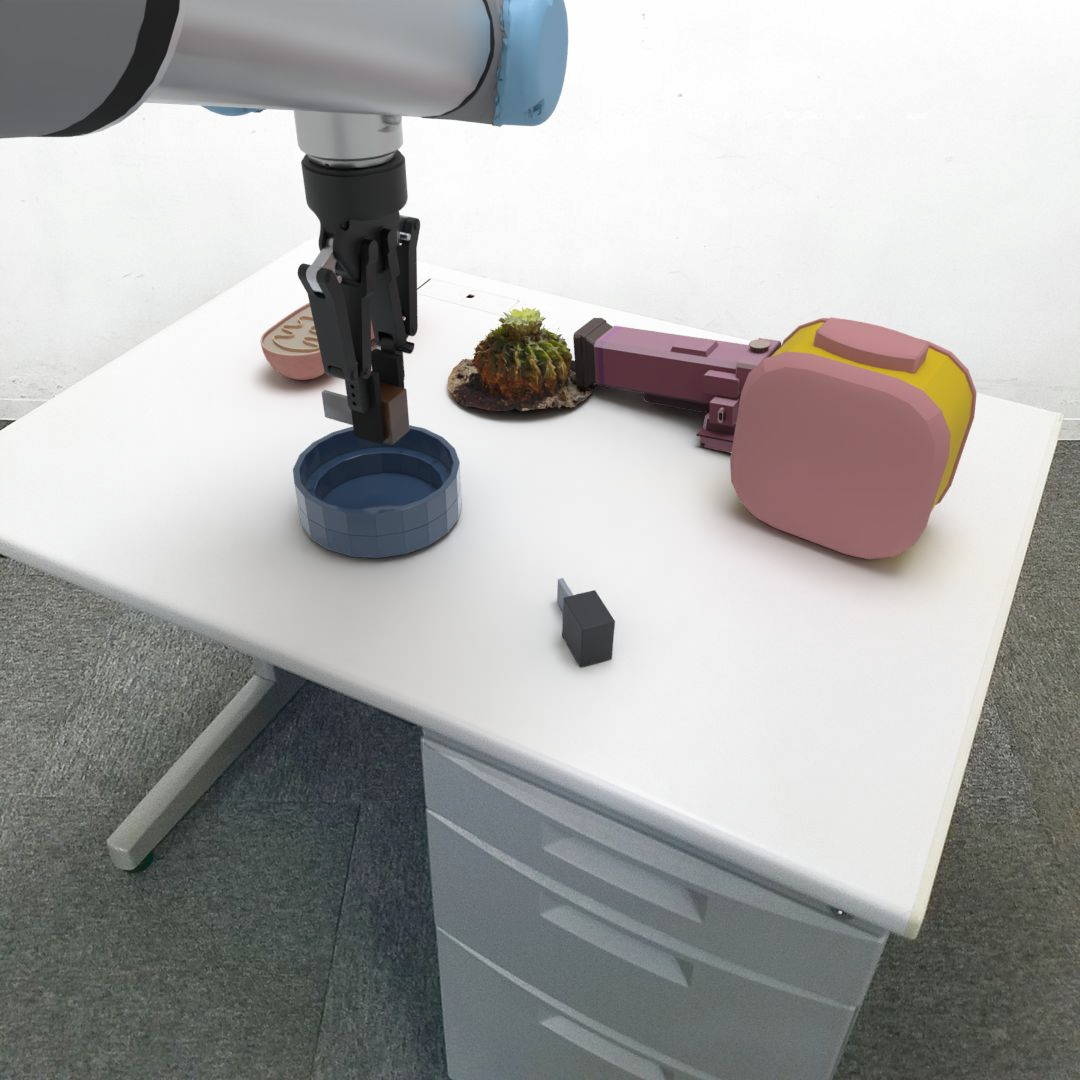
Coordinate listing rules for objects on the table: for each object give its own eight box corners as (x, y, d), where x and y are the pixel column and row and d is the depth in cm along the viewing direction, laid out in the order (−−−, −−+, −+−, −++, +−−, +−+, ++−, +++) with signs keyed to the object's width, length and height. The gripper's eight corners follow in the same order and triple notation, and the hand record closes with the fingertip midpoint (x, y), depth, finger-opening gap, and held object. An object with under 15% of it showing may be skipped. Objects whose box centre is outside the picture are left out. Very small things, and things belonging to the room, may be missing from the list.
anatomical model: (311, 401, 109) (305, 362, 106) (245, 380, 113) (238, 341, 110) (426, 325, 125) (424, 289, 122) (365, 309, 129) (361, 273, 126)
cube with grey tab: (612, 659, 78) (615, 621, 75) (580, 667, 77) (582, 629, 74) (574, 597, 83) (576, 560, 81) (544, 604, 83) (545, 567, 80)
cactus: (574, 349, 120) (577, 274, 114) (611, 413, 108) (616, 333, 102) (437, 362, 117) (433, 286, 111) (460, 429, 105) (456, 348, 99)
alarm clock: (939, 525, 93) (1002, 341, 81) (904, 586, 85) (967, 394, 73) (761, 463, 101) (794, 287, 89) (715, 514, 93) (744, 331, 81)
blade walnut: (410, 430, 85) (406, 388, 82) (392, 445, 83) (388, 402, 80) (335, 409, 88) (330, 367, 85) (316, 423, 86) (310, 381, 83)
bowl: (378, 585, 84) (372, 535, 81) (268, 518, 92) (258, 470, 88) (493, 507, 94) (492, 460, 90) (384, 452, 101) (380, 406, 98)
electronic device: (607, 381, 118) (604, 303, 112) (828, 420, 105) (836, 334, 100) (563, 420, 110) (557, 338, 105) (795, 466, 98) (801, 376, 92)
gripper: (329, 192, 63) (365, 486, 78) (452, 132, 74) (463, 398, 89) (239, 174, 66) (290, 462, 80) (371, 119, 77) (394, 380, 91)
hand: (381, 428), depth 84 cm, fingers closed on blade walnut, 3 cm apart
